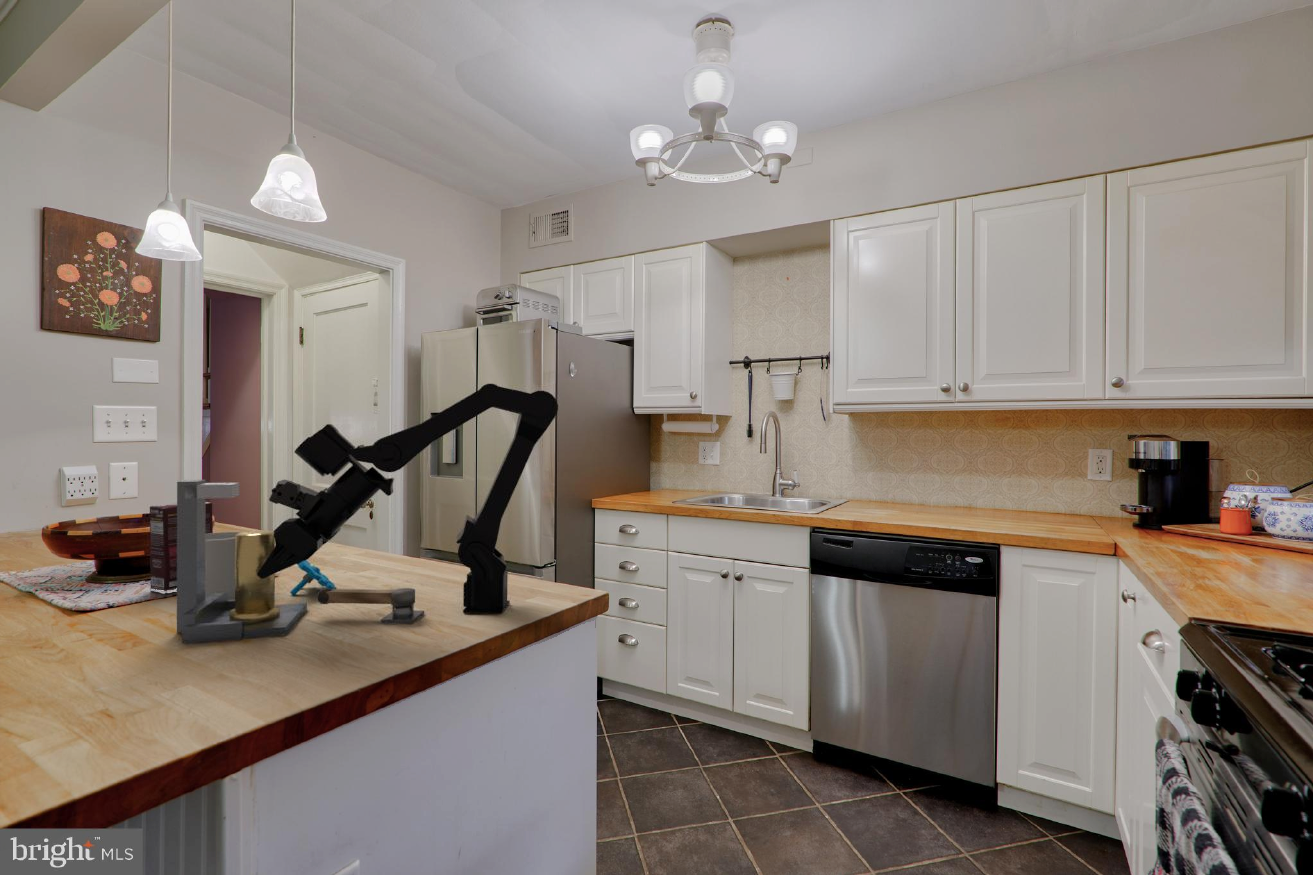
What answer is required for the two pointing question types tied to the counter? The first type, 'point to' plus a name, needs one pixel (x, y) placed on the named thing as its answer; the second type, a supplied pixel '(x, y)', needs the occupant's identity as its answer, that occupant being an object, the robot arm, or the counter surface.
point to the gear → (311, 577)
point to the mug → (220, 563)
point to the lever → (367, 596)
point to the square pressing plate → (402, 615)
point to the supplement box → (167, 544)
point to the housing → (253, 578)
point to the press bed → (193, 610)
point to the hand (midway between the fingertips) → (268, 569)
